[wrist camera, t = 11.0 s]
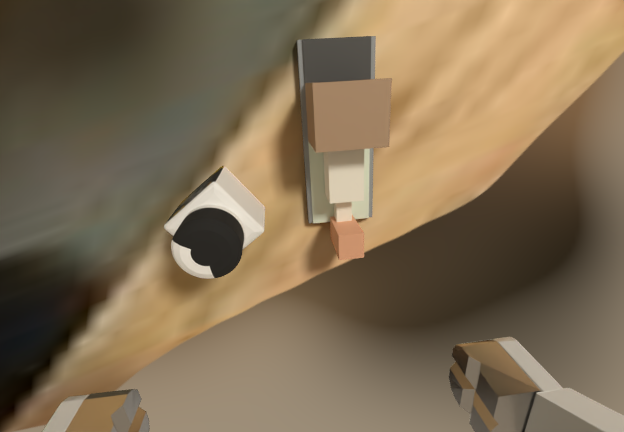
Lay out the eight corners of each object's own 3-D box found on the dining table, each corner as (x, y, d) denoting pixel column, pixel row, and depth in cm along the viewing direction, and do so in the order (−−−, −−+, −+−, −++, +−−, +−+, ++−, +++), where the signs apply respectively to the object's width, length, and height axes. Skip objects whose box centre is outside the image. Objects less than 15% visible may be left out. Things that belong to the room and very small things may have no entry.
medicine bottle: (223, 163, 37) (204, 198, 26) (266, 207, 39) (265, 255, 28) (180, 203, 38) (143, 252, 27) (224, 242, 40) (207, 302, 29)
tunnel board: (296, 41, 33) (303, 29, 26) (372, 37, 34) (399, 25, 27) (308, 220, 41) (316, 248, 34) (369, 213, 41) (390, 240, 34)
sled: (323, 142, 36) (331, 152, 31) (356, 140, 36) (369, 149, 31) (326, 238, 41) (334, 260, 36) (356, 235, 41) (368, 256, 36)
